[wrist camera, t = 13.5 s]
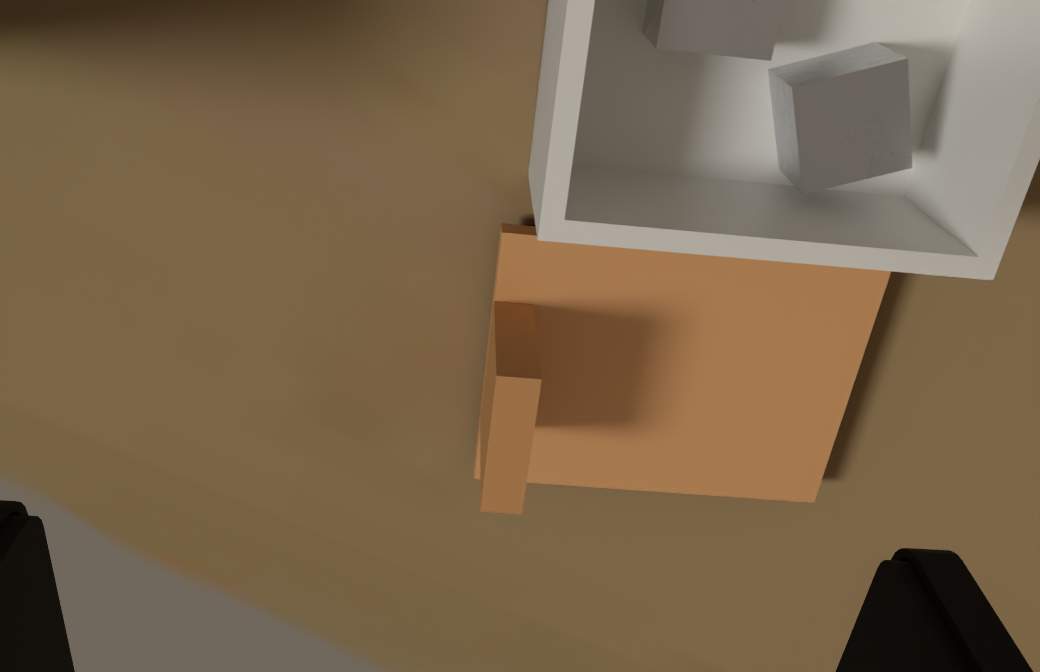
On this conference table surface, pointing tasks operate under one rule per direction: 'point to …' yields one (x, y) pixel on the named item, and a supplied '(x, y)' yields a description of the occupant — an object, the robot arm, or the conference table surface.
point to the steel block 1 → (714, 26)
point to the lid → (665, 370)
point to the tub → (752, 144)
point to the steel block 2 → (842, 117)
